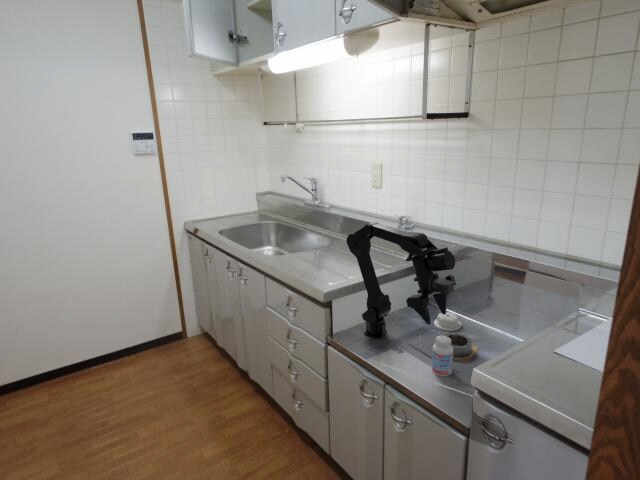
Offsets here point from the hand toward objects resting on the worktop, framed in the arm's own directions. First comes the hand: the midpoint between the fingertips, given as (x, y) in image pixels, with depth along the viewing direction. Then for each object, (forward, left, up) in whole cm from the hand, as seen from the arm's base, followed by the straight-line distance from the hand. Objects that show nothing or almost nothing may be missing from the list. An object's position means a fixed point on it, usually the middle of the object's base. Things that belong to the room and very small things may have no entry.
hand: (436, 319), depth 129 cm
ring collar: (+4, +8, -13) cm, 16 cm away
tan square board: (+4, +8, -14) cm, 16 cm away
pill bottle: (+5, -6, -14) cm, 16 cm away
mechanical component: (-5, +23, -14) cm, 28 cm away
